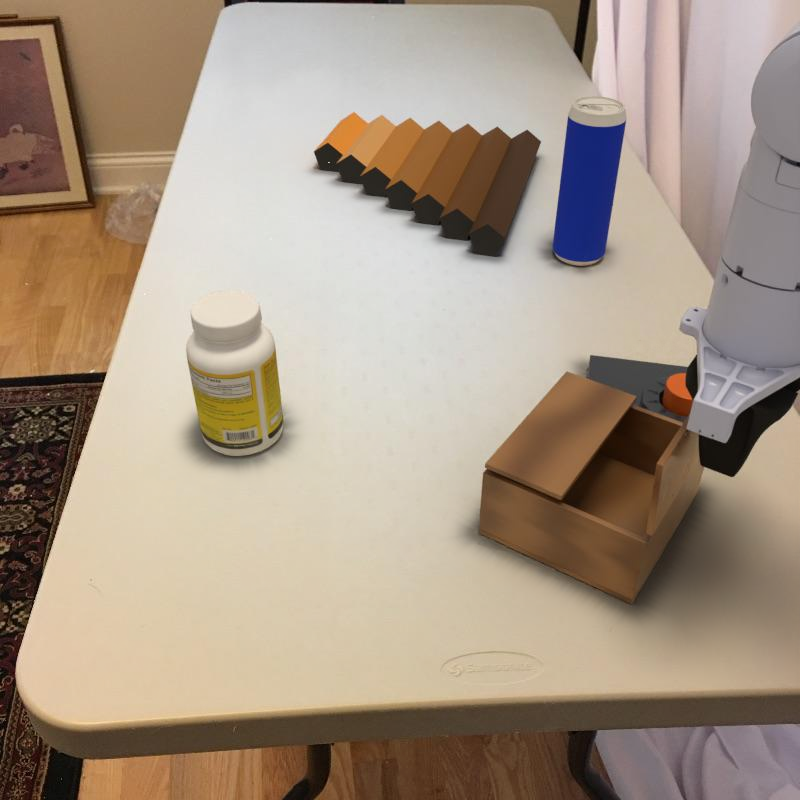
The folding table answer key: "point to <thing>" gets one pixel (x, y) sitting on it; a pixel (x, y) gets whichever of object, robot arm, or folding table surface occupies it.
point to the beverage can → (588, 179)
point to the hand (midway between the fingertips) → (720, 465)
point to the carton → (584, 486)
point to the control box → (636, 380)
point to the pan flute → (436, 173)
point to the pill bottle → (234, 374)
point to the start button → (677, 396)
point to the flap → (672, 473)
